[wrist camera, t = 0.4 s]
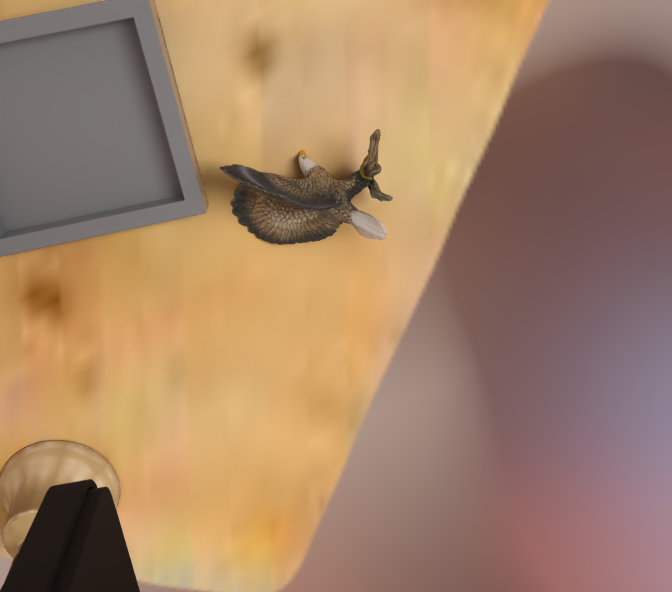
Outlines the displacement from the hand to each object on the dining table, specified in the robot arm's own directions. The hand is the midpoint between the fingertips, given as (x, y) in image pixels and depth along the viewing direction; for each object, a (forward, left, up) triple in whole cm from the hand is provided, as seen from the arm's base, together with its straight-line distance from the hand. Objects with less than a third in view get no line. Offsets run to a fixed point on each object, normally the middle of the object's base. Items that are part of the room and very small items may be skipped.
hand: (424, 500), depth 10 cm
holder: (-4, -12, -32) cm, 35 cm away
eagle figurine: (+2, 0, -33) cm, 33 cm away
